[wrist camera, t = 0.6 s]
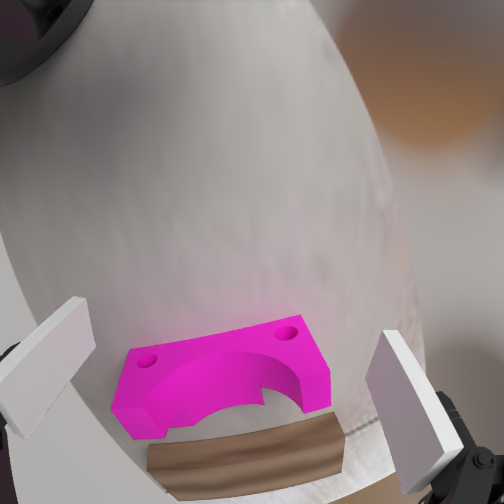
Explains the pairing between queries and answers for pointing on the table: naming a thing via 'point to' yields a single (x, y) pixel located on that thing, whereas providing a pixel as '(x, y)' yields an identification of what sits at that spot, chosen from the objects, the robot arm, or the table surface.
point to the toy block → (219, 376)
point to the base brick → (250, 460)
